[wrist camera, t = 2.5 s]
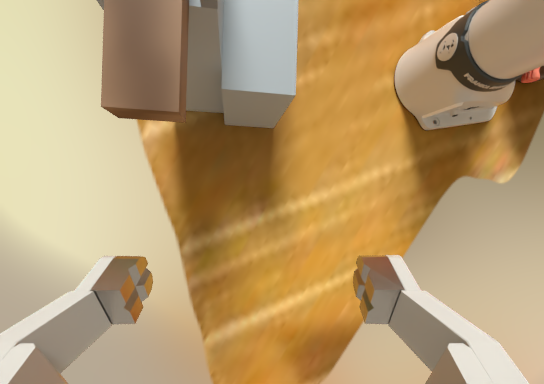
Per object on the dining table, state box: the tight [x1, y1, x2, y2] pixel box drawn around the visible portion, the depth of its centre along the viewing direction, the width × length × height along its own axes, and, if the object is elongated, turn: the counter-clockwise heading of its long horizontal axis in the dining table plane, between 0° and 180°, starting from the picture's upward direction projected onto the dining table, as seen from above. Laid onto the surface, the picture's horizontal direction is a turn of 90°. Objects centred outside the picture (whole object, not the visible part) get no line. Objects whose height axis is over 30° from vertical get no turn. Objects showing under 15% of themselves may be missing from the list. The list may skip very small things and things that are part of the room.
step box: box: [97, 0, 298, 128], centre depth 31 cm, size 17×19×28 cm
